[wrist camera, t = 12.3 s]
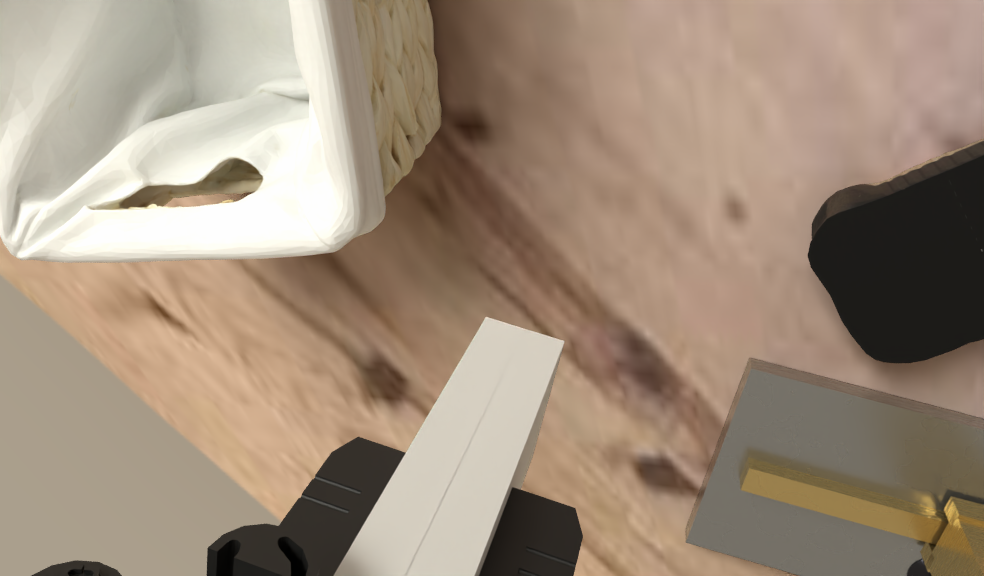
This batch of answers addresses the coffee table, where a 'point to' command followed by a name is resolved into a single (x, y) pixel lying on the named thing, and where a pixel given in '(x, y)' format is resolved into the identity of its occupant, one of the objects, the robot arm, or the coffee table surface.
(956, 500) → the sliding leg
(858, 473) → the steel plate
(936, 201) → the black sponge
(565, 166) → the coffee table surface
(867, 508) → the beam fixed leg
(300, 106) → the storage basket
